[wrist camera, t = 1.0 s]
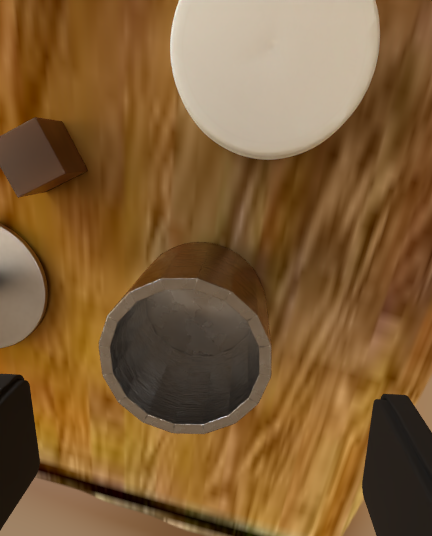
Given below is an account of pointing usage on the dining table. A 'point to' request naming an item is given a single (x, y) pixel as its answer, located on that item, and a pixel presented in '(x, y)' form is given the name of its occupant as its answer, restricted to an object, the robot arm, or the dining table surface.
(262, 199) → the dining table surface
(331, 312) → the dining table surface
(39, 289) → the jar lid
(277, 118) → the supplement tub
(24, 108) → the dining table surface
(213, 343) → the steel jar
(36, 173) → the walnut block
